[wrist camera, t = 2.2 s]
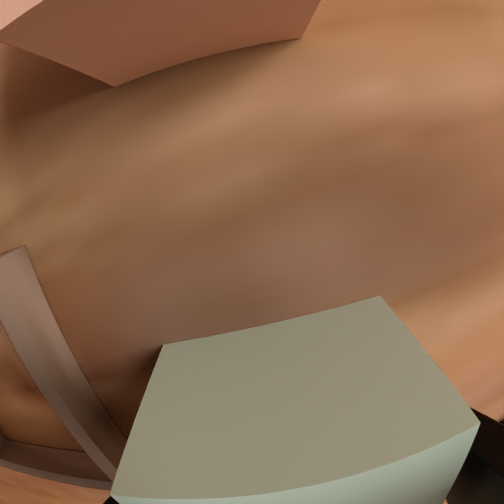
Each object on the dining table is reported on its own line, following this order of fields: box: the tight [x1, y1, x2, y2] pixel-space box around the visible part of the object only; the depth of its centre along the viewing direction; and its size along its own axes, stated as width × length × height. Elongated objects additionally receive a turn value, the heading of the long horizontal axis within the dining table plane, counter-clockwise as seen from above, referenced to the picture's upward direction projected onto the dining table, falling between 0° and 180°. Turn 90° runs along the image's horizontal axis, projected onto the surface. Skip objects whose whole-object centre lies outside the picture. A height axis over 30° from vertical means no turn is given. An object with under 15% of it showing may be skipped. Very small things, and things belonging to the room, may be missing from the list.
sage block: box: [110, 295, 481, 504], centre depth 7 cm, size 6×6×5 cm
